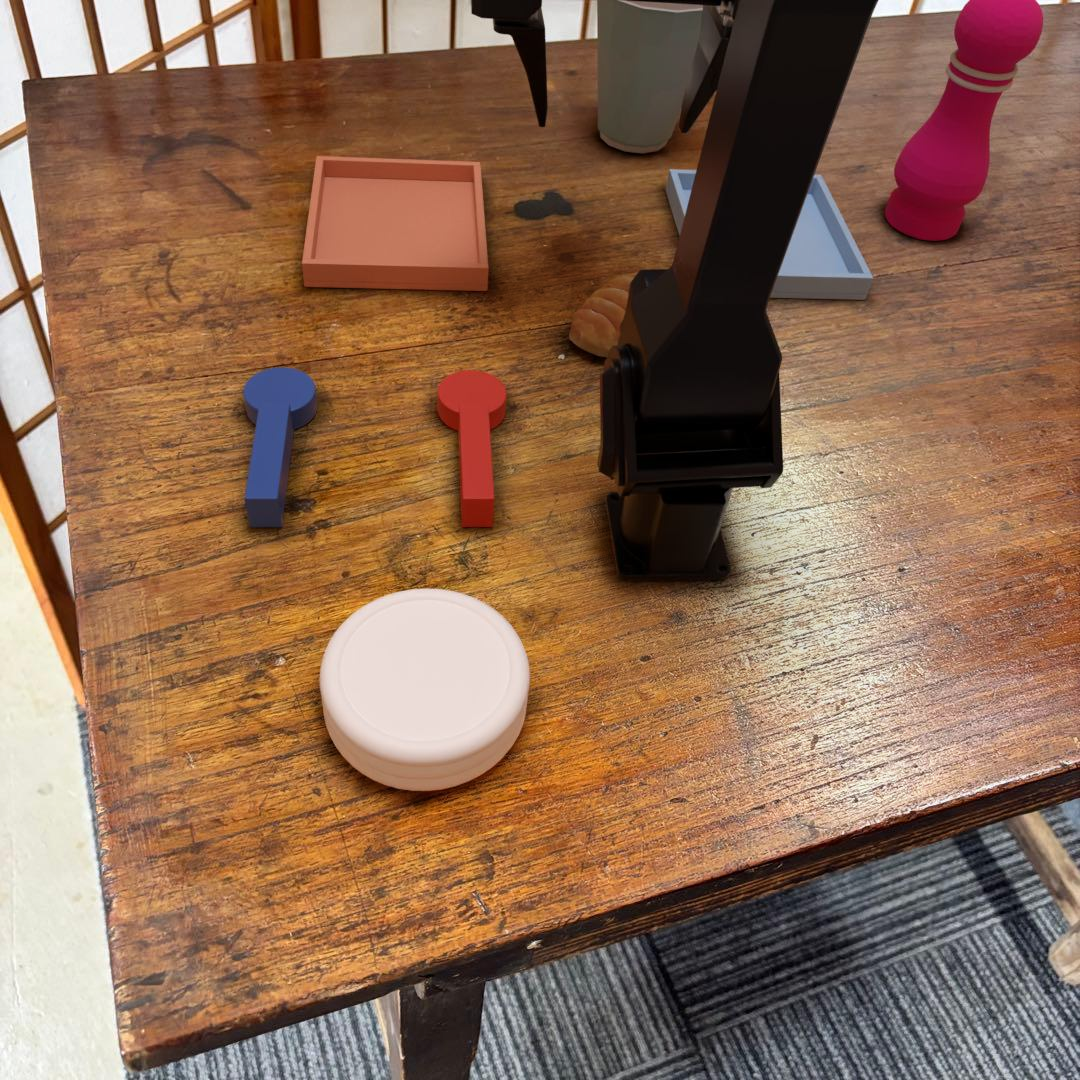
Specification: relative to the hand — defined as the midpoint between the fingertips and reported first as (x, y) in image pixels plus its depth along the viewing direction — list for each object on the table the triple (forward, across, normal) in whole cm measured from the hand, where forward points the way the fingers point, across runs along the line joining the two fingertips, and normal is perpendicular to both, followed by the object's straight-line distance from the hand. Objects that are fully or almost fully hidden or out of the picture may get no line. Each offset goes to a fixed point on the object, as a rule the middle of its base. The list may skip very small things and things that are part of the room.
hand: (612, 127), depth 65 cm
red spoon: (+13, +9, +16) cm, 23 cm away
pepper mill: (+13, -30, -13) cm, 35 cm away
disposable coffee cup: (+13, -7, -26) cm, 29 cm away
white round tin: (+14, +12, +35) cm, 39 cm away
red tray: (+13, +14, -8) cm, 21 cm away
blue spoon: (+13, +21, +16) cm, 30 cm away
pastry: (+13, -3, +3) cm, 14 cm away
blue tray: (+13, -15, -9) cm, 22 cm away
